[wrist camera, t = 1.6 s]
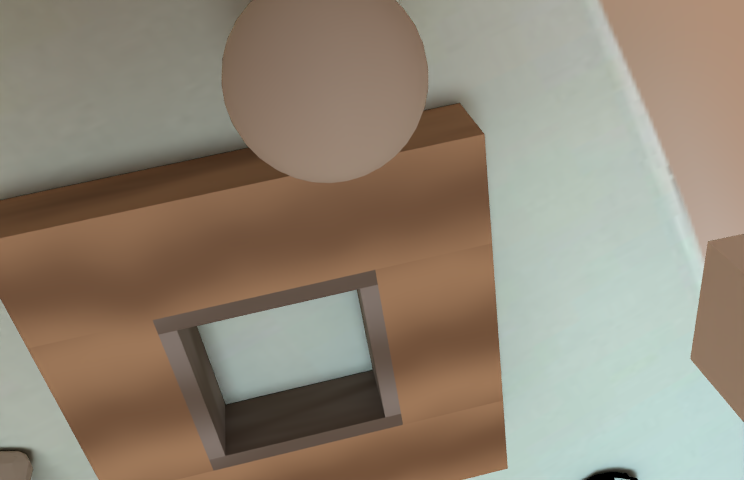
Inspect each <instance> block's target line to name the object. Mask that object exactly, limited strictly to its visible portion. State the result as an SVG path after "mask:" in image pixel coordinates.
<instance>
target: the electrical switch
mask: <svg viewBox="0 0 744 480" xmlns="http://www.w3.org/2000/svg"><path fill="white" fill-rule="evenodd" d="M32 471H33V467H32V465H31V462H30V461H29V459H28V457H27V455H26V454H24V453H22V452H19V451H0V480H31V476H32Z"/></svg>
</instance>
